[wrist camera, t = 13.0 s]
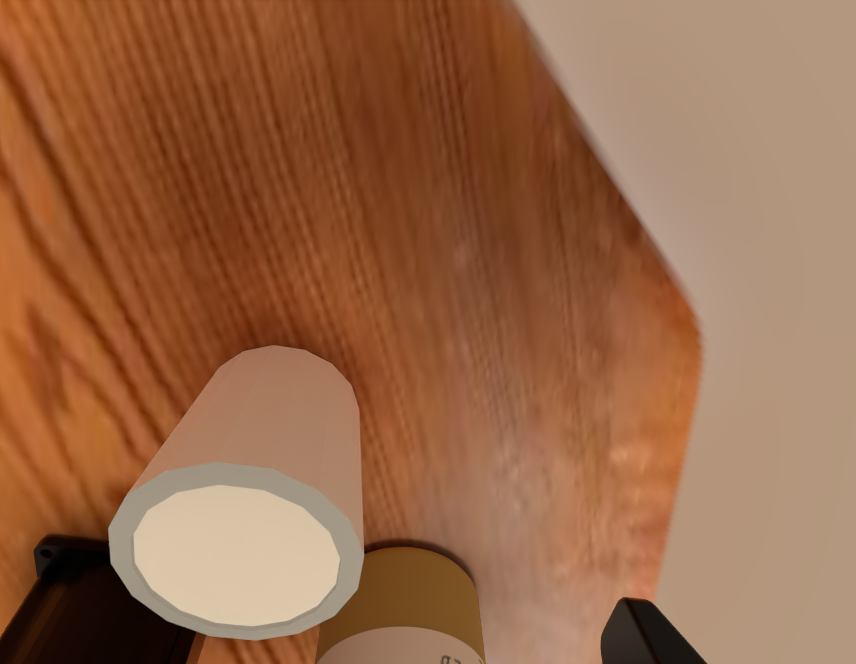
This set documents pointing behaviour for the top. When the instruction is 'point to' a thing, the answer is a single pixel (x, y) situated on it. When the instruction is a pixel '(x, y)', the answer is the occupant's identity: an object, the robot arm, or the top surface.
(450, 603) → the paper tube
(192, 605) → the white tapered cylinder
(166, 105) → the top surface
